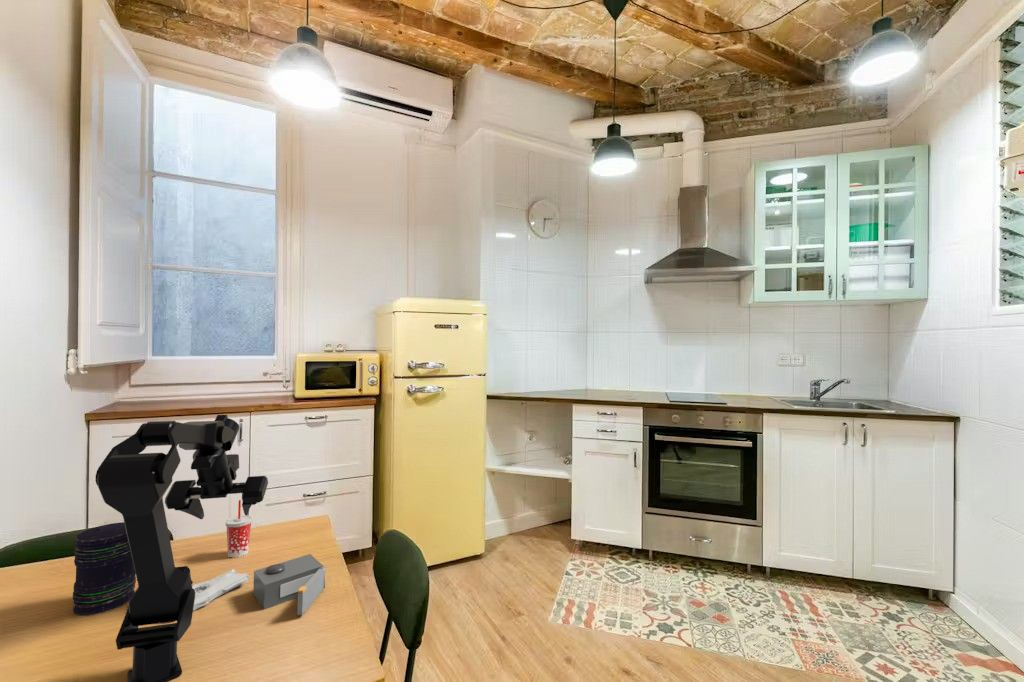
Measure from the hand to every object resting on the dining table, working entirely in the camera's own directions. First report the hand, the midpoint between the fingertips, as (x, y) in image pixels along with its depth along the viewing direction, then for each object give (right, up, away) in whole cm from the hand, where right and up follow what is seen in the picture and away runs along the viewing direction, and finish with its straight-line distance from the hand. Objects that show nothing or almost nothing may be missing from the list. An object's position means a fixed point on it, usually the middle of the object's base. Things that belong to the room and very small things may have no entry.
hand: (225, 515), depth 103 cm
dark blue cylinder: (-19, -15, -10) cm, 26 cm away
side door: (+25, -14, -9) cm, 30 cm away
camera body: (+17, -15, -5) cm, 23 cm away
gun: (-1, -15, -8) cm, 18 cm away
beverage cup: (-5, -15, +13) cm, 21 cm away
